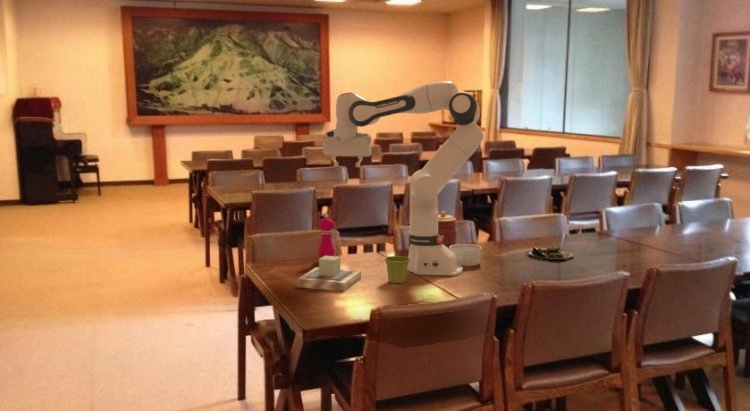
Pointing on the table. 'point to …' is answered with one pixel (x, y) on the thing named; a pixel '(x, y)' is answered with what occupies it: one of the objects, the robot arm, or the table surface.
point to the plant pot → (397, 268)
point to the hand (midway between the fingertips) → (347, 166)
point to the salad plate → (549, 254)
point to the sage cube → (329, 266)
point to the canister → (447, 229)
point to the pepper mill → (326, 237)
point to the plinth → (329, 280)
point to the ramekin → (467, 254)
